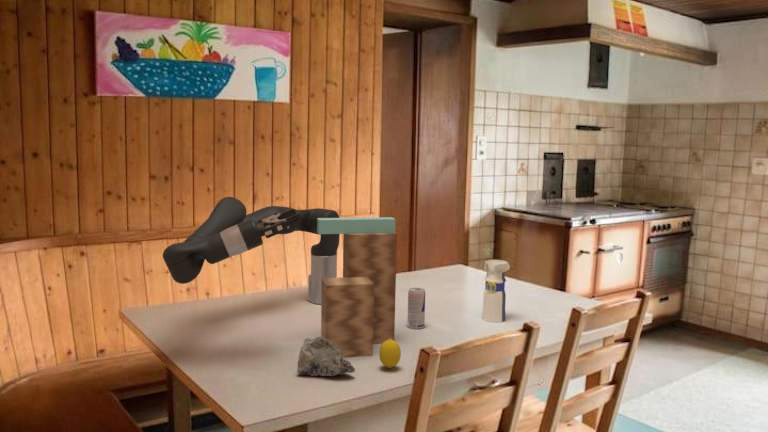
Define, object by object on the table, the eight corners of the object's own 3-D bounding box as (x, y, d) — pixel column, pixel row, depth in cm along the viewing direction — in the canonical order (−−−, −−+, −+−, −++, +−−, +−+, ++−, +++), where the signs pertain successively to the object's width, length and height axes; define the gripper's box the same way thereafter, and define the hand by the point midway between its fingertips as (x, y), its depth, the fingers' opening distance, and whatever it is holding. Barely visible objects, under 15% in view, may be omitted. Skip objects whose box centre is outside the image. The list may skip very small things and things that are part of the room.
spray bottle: (501, 324, 212) (505, 248, 208) (477, 319, 216) (480, 245, 213) (510, 318, 218) (514, 244, 215) (487, 314, 223) (490, 241, 220)
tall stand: (346, 345, 188) (348, 234, 184) (342, 336, 196) (343, 230, 191) (394, 342, 191) (396, 234, 187) (387, 334, 199) (390, 229, 195)
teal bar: (318, 234, 184) (319, 220, 183) (317, 231, 188) (317, 218, 187) (395, 233, 189) (395, 219, 188) (391, 230, 193) (392, 217, 192)
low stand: (325, 358, 177) (326, 285, 174) (321, 347, 186) (321, 278, 183) (372, 355, 180) (374, 284, 177) (366, 344, 189) (367, 276, 186)
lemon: (378, 364, 173) (378, 335, 172) (399, 364, 173) (399, 335, 172) (379, 372, 167) (380, 342, 166) (401, 372, 168) (402, 342, 167)
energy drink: (426, 325, 209) (427, 288, 207) (421, 330, 204) (422, 292, 202) (410, 323, 210) (411, 286, 209) (405, 328, 205) (406, 290, 204)
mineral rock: (357, 378, 163) (358, 339, 162) (322, 389, 156) (323, 348, 155) (325, 364, 173) (325, 327, 171) (291, 373, 166) (291, 335, 164)
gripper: (238, 230, 166) (297, 205, 169) (233, 220, 179) (289, 197, 182) (249, 256, 167) (308, 231, 171) (244, 245, 181) (298, 222, 184)
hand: (298, 214), depth 177 cm, fingers open, 8 cm apart
